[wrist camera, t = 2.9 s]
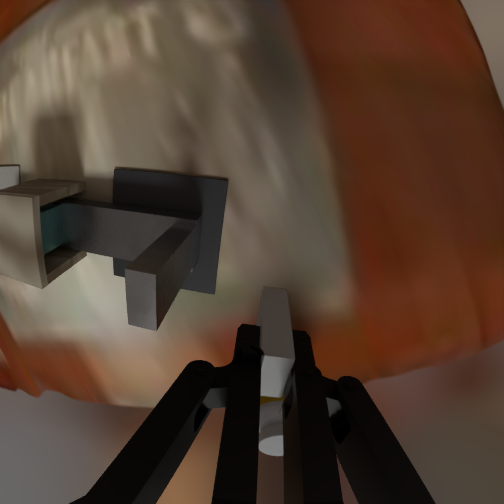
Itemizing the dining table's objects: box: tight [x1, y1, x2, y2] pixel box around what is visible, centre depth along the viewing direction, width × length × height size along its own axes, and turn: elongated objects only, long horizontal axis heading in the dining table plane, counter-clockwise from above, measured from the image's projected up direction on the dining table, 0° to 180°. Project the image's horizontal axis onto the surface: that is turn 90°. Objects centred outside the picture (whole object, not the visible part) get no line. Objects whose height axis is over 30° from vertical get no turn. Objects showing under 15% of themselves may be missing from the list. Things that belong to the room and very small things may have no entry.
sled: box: [40, 198, 202, 331], centre depth 22 cm, size 5×26×12 cm, turn 81°
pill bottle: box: [259, 393, 284, 456], centre depth 29 cm, size 6×6×12 cm
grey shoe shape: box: [113, 169, 228, 294], centre depth 28 cm, size 12×12×1 cm
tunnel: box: [0, 179, 87, 289], centre depth 24 cm, size 9×8×9 cm
